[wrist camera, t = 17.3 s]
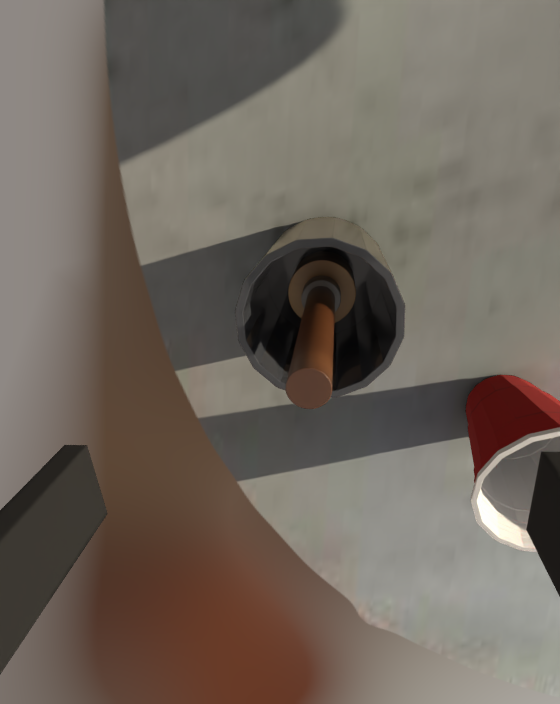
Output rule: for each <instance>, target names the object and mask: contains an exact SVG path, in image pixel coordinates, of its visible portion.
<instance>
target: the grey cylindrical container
mask: <svg viewBox="0 0 560 704" xmlns="http://www.w3.org/2000/svg"><path fill="white" fill-rule="evenodd" d="M321 251H327V252H332V253H335V254H337V255H339V256H341V257H342V258H344V259H345V260H346V261H347V262H348V264H349V265H350V267H351V269H352V271H353V274H354V280H355V288H356V297H355V302H354V304H353V307H352V309H351V310H350V312H349V313H348V314H347V315H346V316H345V317H344V318H343V319H341V320H340V321H338V322H336V323H334V349H333V381H332V394H331V397H340V396H342V395H345V394H348V393H350V392H353V391H356V390H358V389H361V388H364V387H366V386H368V385H369V384H370V383H371V382H372V381H373V380H374V379H376V378H377V377H378V376H379V375H380V374H381V373H382V372H384V371H385V370H386V369H387V368H388V367H389V366H390V365H391V363H392V361H393V359H394V357H395V355H396V353H397V351H398V348H399V346H400V344H401V342H402V340H403V338H404V325H405V303H404V301H403V298H402V296H401V293H400V291H399V289H398V286H397V284H396V281H395V279H394V277H393V274H392V272H391V270H390V268H389V266H388V264H387V262H386V260H385V258H384V256H383V254H382V252H381V250H380V248H379V245H378V244H377V242H376V241H375V240H373V239H372V237H371V236H370V235H369V234H368V233H367V232H365V231H364V230H363V229H362V228H361V227H360V226H358V225H356V224H354V223H351V222H349V221H347V220H343V219H340V218H336V217H318V218H312V219H307V220H305V221H303V222H300V223H298V224H296V225H295V226H293V227H291V228H289V229H287V230H286V231H285V232H284V233H283V234H282V235H281V236H280V238H279V239H278V240H277V241H276V242H275V244H274V245H273V246H272V247H271V248H270V250H269V251H268V252H267V253H266V254H265V256H264V257H263V258H262V259H261V260H260V262H259V263H258V264H257V265H256V266H255V268H254V269H253V270H252V271H251V273H250V274H249V275H248V276H247V277H246V279H245V280H244V282H243V285H242V288H241V292H240V295H239V299H238V302H237V305H236V309H235V316H236V324H237V332H238V340H239V343H240V345H241V347H242V348H243V350H244V352H245V354H246V355H247V357H248V359H249V361H250V363H251V364H252V366H253V368H254V369H255V370H257V371H258V372H259V373H260V374H261V375H263V376H264V377H265V378H266V379H268V380H269V381H270V382H271V383H272V384H274V385H275V386H276V387H278V388H280V389H283V390H286V381H287V377H288V373H289V369H290V365H291V360H292V356H293V352H294V348H295V344H296V340H297V336H298V332H299V328H300V324H301V320H302V319H301V318H300V317H299V316H298V315H297V314H296V313H295V312H294V310H293V308H292V307H291V304H290V301H289V296H288V289H289V284H290V281H291V279H292V276H293V274H294V272H295V269H296V267H297V266H298V264H299V263H300V262H301V261H302V260H303V259H304V258H305V257H307V256H308V255H310V254H313V253H316V252H321Z"/></svg>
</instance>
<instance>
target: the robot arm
mask: <svg viewBox="0 0 560 704" xmlns="http://www.w3.org/2000/svg"><path fill="white" fill-rule="evenodd" d="M106 515H107V510H106V507H105V504H104V501H103V497H102V494H101V490H100V487H99V484H98V481H97V477H96V474H95V471H94V468H93V464H92V461H91V457H90V454H89V451H88V447H87V446H86V445H85V446H84V445H64V446H63V447H62V448H61V449H60V450H59V451H58V452H57V453H56V454H55V455H54V456H53V457H52V458H51V459H50V460H49V462H47V463H46V465H44V466H43V468H42V469H41V470H40V471H39V472H38V473H37V474H36V475H35V476H34V477H33V478H32V479H31V480H30V481H29V482H28V483H27V484H26V485H25V486H24V487H23V488H22V489H21V490H20V491H19V492H18V493H17V494H16V495H15V496H14V497H13V498H12V499H11V500H10V501H9V502H8V503H7V504H6V505H5V506H4V507H3V508H2V509H1V510H0V674H1V673H2V671H3V669H4V668H5V667H6V665H7V664H8V662H9V661H10V659H11V658H12V656H13V655H14V653H15V651H16V650H17V649H18V647H19V645H20V644H21V642H22V641H23V640H24V638H25V637H26V635H27V634H28V632H29V631H30V629H31V628H32V626H33V625H34V623H35V622H36V620H37V619H38V617H39V616H40V614H41V613H42V611H43V609H44V608H45V607H46V605H47V604H48V602H49V601H50V599H51V598H52V596H53V594H54V593H55V591H56V590H57V589H58V587H59V585H60V584H61V583H62V581H63V580H64V578H65V577H66V575H67V574H68V572H69V571H70V569H71V568H72V566H73V564H74V563H75V562H76V560H77V559H78V557H79V556H80V554H81V553H82V551H83V550H84V548H85V547H86V545H87V544H88V542H89V541H90V539H91V538H92V536H93V535H94V533H95V532H96V530H97V529H98V527H99V526H100V524H101V523H102V521H103V520H104V518H105V517H106ZM526 530H527V532H528V534H529V536H530V538H531V540H532V542H533V544H534V546H535V548H536V550H537V552H538V554H539V556H540V558H541V560H542V562H543V564H544V566H545V568H546V570H547V572H548V574H549V576H550V578H551V580H552V582H553V584H554V586H555V588H556V590H557V592H558V594H559V596H560V452H543V451H541V455H540V460H539V465H538V471H537V476H536V481H535V486H534V492H533V497H532V502H531V507H530V513H529V518H528V523H527V528H526Z"/></svg>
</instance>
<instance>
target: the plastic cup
mask: <svg viewBox="0 0 560 704" xmlns="http://www.w3.org/2000/svg"><path fill="white" fill-rule="evenodd" d="M465 411H466V416H467V421H468V433H469V438H470V444H471V450H472V456H473V461H474V475H475V479H474V483H475V484H474V488H473V491H472V495H471V503H472V507H473V510H474V514H475V517H476V521H477V523H478V524H479V525H480V526H481V527H482V528H483V529H484V530H485V531H486V532H487V533H488V534H489V535H490V536H491V537H492V538H493V539H494V540H496V541H498V542H501V543H503V544H506V545H508V546H511V547H513V548H516V549H518V550H521V551H531V552H537V550H536V548H535V546H534V544H533V542H532V540H531V538H530V536H529V534H528V532H527V530H526V528H527V523H528V518H529V513H530V507H531V502H532V497H533V492H534V486H535V481H536V476H537V471H538V465H539V460H540V455H541V451H543V452H560V401H559V400H557V399H556V398H554V397H553V396H551V395H550V394H548V393H546V392H544V391H541V390H540V389H539V388H537V387H536V386H534V385H533V384H531V383H530V382H527V381H525V380H523V379H521V378H519V377H516V376H512V375H497V376H494V377H490V378H486V379H485V380H483V381H482V382H480V383H479V384H477V385H476V386H475V387H474V388H473V390H472V391H471V393H470V394H469V395H468V399H467V404H466V410H465Z"/></svg>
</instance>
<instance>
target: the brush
mask: <svg viewBox="0 0 560 704" xmlns="http://www.w3.org/2000/svg"><path fill="white" fill-rule="evenodd" d="M288 296H289V301H290V304H291V307H292V308H293V310H294V312H295V313H296V314H297V315H298V316H299V317H300V318H301V319H302V320H301V324H300V328H299V332H298V336H297V340H296V344H295V348H294V352H293V356H292V360H291V365H290V369H289V373H288V377H287V381H286V393H287V396H288V398H289V399H290V400H291V401H292V402H293V403H294V404H295V405H297V406H299V407H301V408H305V409H314V408H318V407H321V406H322V405H324V404H325V403H326V402H327V401H328V400H329V399H330V397H331V394H332V381H333V349H334V323H336V322H338V321H340V320H341V319H343V318H344V317H345V316H346V315H347V314H348V313H349V312H350V310H351V309H352V307H353V304H354V302H355V297H356V288H355V280H354V274H353V271H352V269H351V267H350V265H349V264H348V262H347V261H346V260H345V259H344V258H342V257H341V256H339V255H337V254H335V253H332V252H327V251H321V252H316V253H313V254H310V255H308V256H307V257H305V258H304V259H303V260H302V261H301V262H300V263H299V264H298V266H297V267H296V269H295V272H294V274H293V276H292V279H291V281H290V284H289V289H288Z"/></svg>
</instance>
